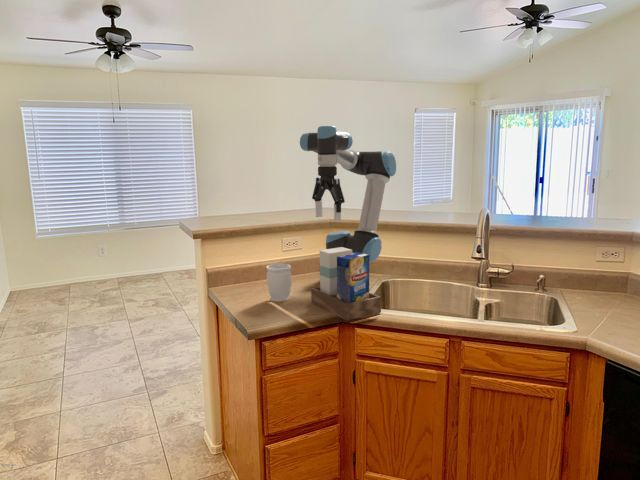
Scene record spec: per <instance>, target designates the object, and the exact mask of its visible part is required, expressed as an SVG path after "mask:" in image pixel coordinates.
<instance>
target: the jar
mask: <svg viewBox="0 0 640 480" xmlns="http://www.w3.org/2000/svg"><path fill="white" fill-rule="evenodd" d="M291 269H292V265H290V264H288V263H282V262H281V263H280V262H279V263H271V264H268V265H266V270H267V273H266V284H267V290H268V294H269V296H270V297H269V298H270V302H271V303H273V304H275V302H285V301H287V300H289V299H290V297H289V296H290V295H291V290H292V289H291V287H292V283H293V281H292V280H293V279H292V277H293V276H292V272H291Z"/></svg>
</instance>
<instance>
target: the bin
mask: <svg viewBox="0 0 640 480" xmlns="http://www.w3.org/2000/svg"><path fill="white" fill-rule="evenodd" d="M310 299H311V303H312V304H314V305H315V306H318V307H319V308H321V309H323V310H325V311H327V312H329V313H331V314H333V315H335V316H337V317H338V318H341V319H343V320H345V321H348V322H346V324H349V323H352V322H357V321H360V320H364V319H367V318H368V319H369V318H372V317H376V316H380V315H381V312H382V296H379V294H378V295H377V294H376V293H373V292H370V291H369V299H365V300H361V301H356V302H352V303H348V304H347V303H345V302H343V301H341V300H339V299H337V294H333V295H328V294H325V293H323V292H321V291H320V286H316V287H315V286H314V287H312V288H311V287H310ZM374 314H375V315H374ZM370 315H371V316H370ZM366 316H367V317H366ZM362 317H363V318H362Z"/></svg>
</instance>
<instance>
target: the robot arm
mask: <svg viewBox="0 0 640 480" xmlns="http://www.w3.org/2000/svg"><path fill="white" fill-rule="evenodd" d="M353 142H354V141H353V137H352V135H351V134H350V133H349V132H347V131H346V132H345V131H337V127H336V126H335V125H320V126H317V132H307V133H303V134H301V136H300V138H299V146H300V148H301V149H302V150H303V151H306V152H313V153H317V165H318V167H317V177H315V183H314V188H313V192H312V196H311V198H312V200H314V203H315V217H316V218H321V217H323V199H322V198H323V196H324V194H325V192H326V190H327V191H329V192H330V195H331V197H332V200H333V201H334V203H333V221H334V222H338V221H340V222H341V220H342V218H341V217H342V213H341V212H342V204H344V203H345V202H346V200H345V197H344V193H343V190H342V187H341V181H340V178H335V176H337V175H338V169H337V168H338V167H337V166H336V165H337V164H338V165H340V166H341V168H343V169H344V170H346V171H348V172H351V173H353V174H356V175H359V176H365V177H364V178H365V179H366V180H367V182H366V187H365V188H366V189H365V193H364V199H363V202H362V203H363V204H362V208H361V213H360V218H359V223H358V228H356V229H355V230H354V233H353V235H351V232H350V231H347V230H346V231H345V230H344V231H335V232H331V233H328V234H327V235H326V239H325V249H332V248H339V247H344V248H348V249H351V250H352V253H354V252H358V253H363V254H369V263H373V262H375V261H376V260H377V259H378V258H379V256H380V254H381V252H382V243H383V242H382V240H381V239H380V238H379V233H378V232H377V229H378V224H379V219H380V214H381V209H382V205H383V204H382V203H383V198H384V193H385V188H386V184H387V183H389V182H390V178H391V177H393V176H395V175H396V174H397V173H396V172H397V162H396V158H395V155H394V154H393V152H391V151H385V150H382V151H354V150H352V149H350V148H351V147H352V146H353ZM318 176H319V177H318Z"/></svg>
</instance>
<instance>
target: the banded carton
mask: <svg viewBox="0 0 640 480" xmlns="http://www.w3.org/2000/svg"><path fill="white" fill-rule="evenodd" d="M350 253H352V250H351V249H348V248H344V247H339V248H332V249H326V248H325V249H320V250H319V287H320V291H321V292H323V293H325V294H328V295H333V294H337V257H338V256H342V255H346V254H350Z"/></svg>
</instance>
